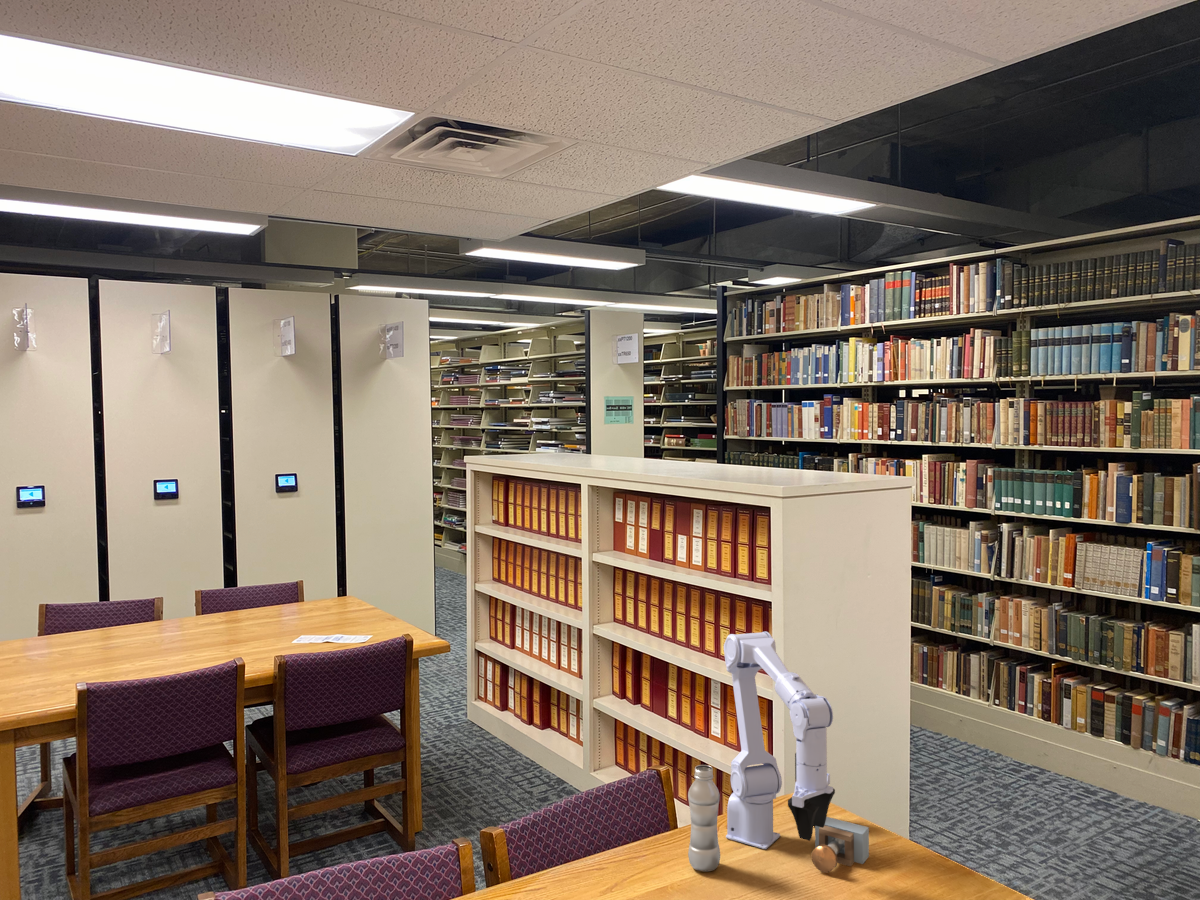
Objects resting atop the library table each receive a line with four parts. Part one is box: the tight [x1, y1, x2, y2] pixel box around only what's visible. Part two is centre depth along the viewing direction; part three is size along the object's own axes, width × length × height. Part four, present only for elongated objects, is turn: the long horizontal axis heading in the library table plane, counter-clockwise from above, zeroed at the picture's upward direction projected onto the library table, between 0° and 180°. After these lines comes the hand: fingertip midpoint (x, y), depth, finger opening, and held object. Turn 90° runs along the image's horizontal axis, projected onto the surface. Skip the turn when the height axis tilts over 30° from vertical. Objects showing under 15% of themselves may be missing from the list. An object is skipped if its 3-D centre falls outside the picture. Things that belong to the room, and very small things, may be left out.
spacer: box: [819, 826, 855, 867], centre depth 169 cm, size 7×2×6 cm, turn 54°
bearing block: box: [814, 816, 870, 865], centre depth 172 cm, size 10×4×6 cm, turn 54°
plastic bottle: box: [687, 764, 721, 872], centre depth 166 cm, size 6×7×20 cm
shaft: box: [810, 838, 845, 873], centre depth 168 cm, size 11×5×5 cm, turn 144°
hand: (811, 832), depth 159 cm, fingers open, 6 cm apart
